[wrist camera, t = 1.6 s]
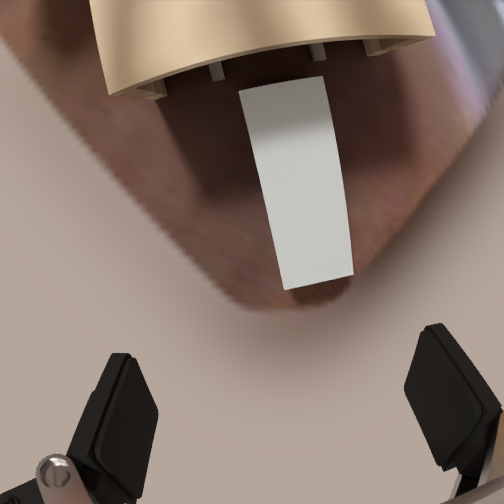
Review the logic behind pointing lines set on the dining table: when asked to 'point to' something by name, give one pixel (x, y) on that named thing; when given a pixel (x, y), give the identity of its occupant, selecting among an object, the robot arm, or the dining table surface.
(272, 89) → the white rectangular block
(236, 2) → the beige wooden bench
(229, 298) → the dining table surface
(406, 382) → the robot arm
